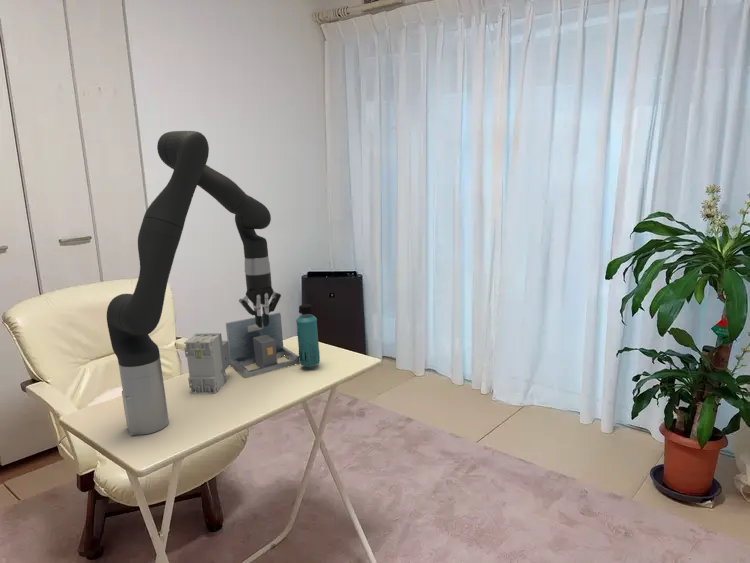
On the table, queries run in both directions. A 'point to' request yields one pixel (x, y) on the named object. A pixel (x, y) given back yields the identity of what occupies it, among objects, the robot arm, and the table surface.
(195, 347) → the circuit breaker
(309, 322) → the beverage bottle
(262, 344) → the block
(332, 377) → the table surface
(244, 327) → the grey frame with backplate
